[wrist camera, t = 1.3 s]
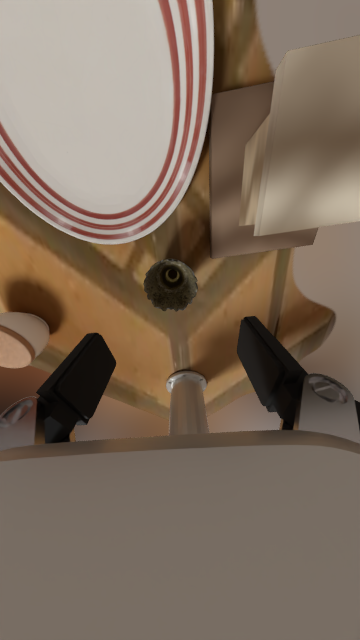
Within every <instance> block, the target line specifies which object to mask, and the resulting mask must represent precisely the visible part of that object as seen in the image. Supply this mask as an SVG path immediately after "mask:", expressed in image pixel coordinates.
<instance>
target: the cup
mask: <svg viewBox="0 0 360 640" xmlns="http://www.w3.org/2000/svg"><path fill="white" fill-rule="evenodd" d="M170 270H175V271H176V272H177V277H176V278H174V279H171V278H170V277H169V276H168V273H169V271H170ZM196 282H197V278H196V277H195V275H194V272H193V271H192V269H191V268H190V267H189V266H187V265H186V264H185V263H183V262H182V261H180V260H177V259H165V260H162V261H160V262H157V263H155V264H154V265H153V266H152V267H151V268H150V270H149V271H148V272H147V273H146V278H145V280H144V291H145V292H146V293H148V295H147V297H148V299H151V301H152V304H153V305H154V307H156V308H160V309H162V310H163V311H166V310H167V309H174V310H175V311H178V310H179V309H180V310H184V309H185V308H186V307H187V305H188V303H189V304H191V303H192V298H194V297H195V296H196V291H197V290H198V287H197V283H196Z"/></svg>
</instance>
